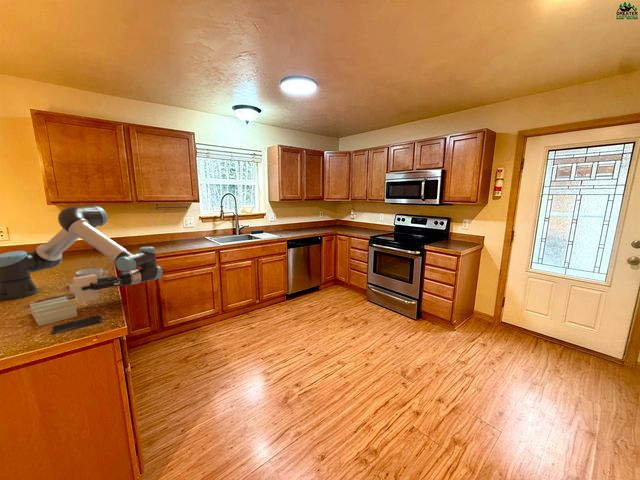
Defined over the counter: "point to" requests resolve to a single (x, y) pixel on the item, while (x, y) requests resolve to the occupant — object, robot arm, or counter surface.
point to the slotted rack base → (53, 310)
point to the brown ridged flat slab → (54, 298)
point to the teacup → (91, 272)
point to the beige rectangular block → (87, 294)
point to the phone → (76, 324)
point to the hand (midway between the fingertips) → (70, 289)
